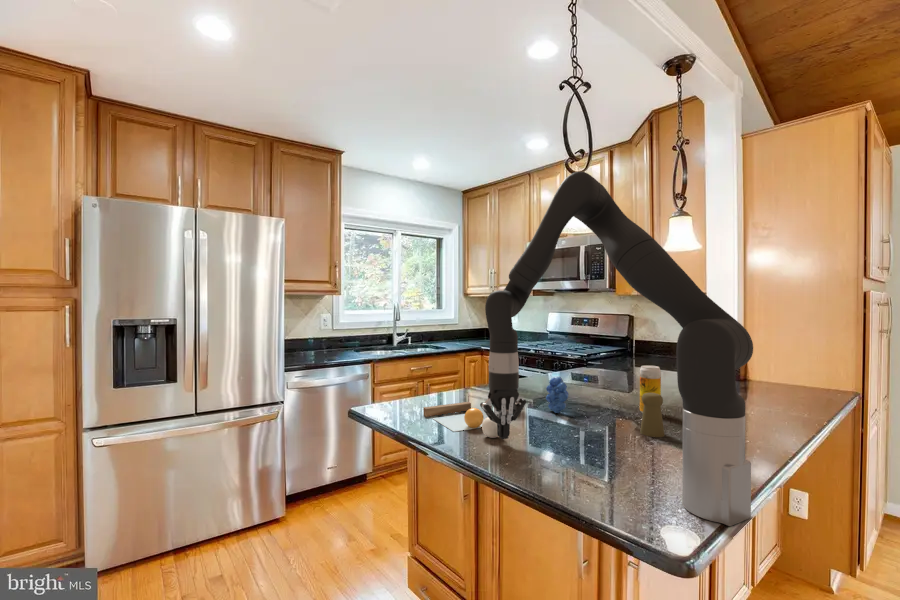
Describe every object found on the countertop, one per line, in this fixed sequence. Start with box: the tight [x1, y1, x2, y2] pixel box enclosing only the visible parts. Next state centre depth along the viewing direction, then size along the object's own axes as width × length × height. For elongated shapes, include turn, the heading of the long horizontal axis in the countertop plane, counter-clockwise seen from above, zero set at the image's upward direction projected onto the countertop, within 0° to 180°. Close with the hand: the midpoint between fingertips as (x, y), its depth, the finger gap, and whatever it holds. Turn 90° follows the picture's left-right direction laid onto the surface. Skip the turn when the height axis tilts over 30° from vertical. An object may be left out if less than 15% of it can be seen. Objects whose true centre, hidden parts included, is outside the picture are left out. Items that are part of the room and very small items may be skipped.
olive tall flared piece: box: [639, 393, 665, 438], centre depth 115 cm, size 6×6×11 cm
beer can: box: [639, 364, 662, 415], centre depth 135 cm, size 6×6×15 cm
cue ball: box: [481, 416, 499, 439], centre depth 111 cm, size 6×6×6 cm
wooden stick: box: [422, 401, 472, 418], centre depth 135 cm, size 2×16×2 cm, turn 116°
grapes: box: [545, 376, 569, 414], centre depth 135 cm, size 12×7×12 cm, turn 14°
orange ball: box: [464, 407, 485, 429], centre depth 120 cm, size 6×6×6 cm
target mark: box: [432, 413, 486, 433], centre depth 125 cm, size 14×14×1 cm
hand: (503, 438), depth 106 cm, fingers closed
